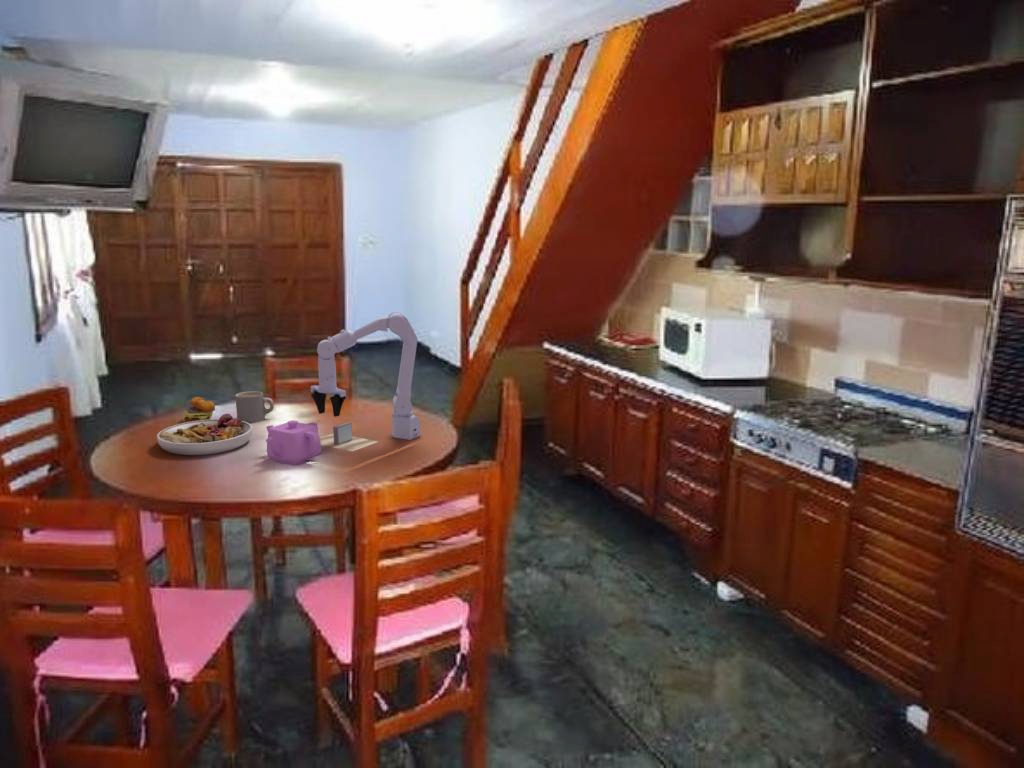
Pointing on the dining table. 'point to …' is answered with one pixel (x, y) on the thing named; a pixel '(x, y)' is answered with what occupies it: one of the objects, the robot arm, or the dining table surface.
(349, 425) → the tile
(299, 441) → the teakettle
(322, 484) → the dining table surface
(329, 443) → the board
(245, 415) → the coffee mug
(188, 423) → the bowl
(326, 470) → the dining table surface
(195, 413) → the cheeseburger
